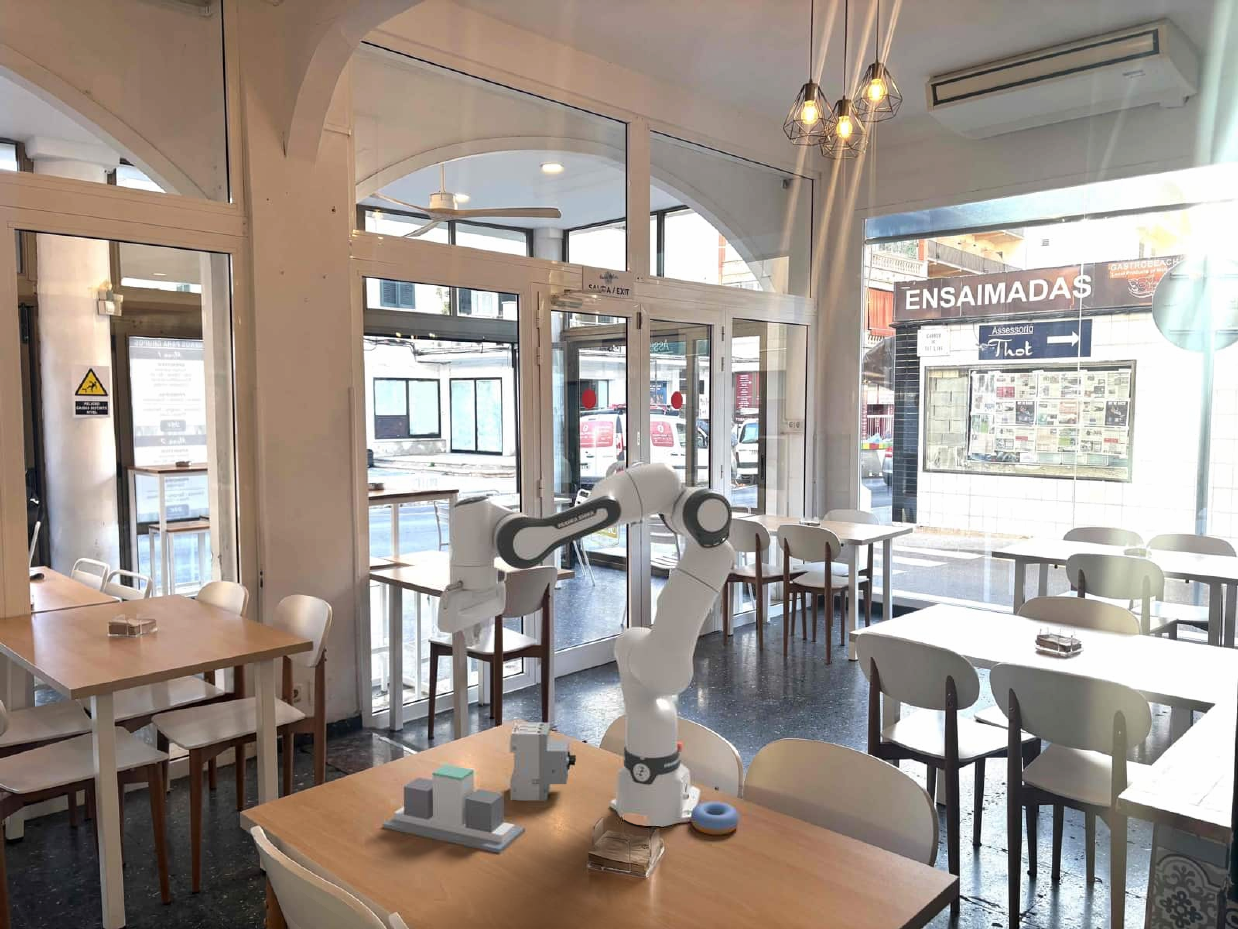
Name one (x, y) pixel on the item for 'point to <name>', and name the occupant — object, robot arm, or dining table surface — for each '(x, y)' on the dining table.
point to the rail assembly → (478, 831)
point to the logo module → (451, 793)
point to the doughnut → (714, 818)
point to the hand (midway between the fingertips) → (472, 645)
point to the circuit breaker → (537, 761)
